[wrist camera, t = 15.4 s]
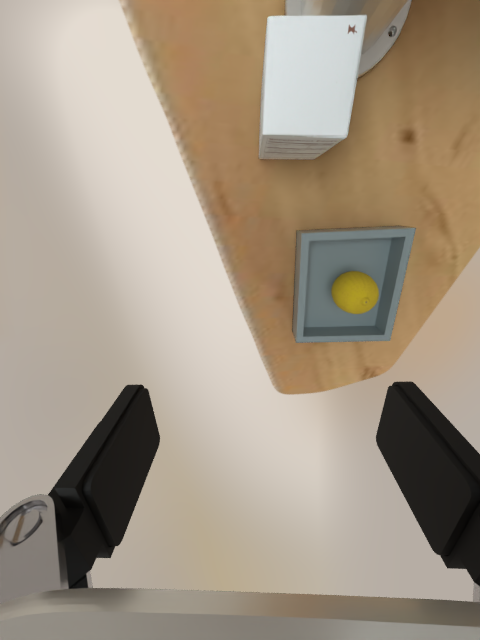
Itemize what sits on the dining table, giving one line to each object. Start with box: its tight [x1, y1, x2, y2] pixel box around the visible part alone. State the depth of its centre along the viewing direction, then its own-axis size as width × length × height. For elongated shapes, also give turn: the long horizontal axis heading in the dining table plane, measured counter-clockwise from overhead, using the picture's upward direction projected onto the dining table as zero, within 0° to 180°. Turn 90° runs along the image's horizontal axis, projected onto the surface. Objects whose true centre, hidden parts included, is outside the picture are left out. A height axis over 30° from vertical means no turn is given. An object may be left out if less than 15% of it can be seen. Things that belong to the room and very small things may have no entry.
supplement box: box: [259, 15, 367, 160], centre depth 25 cm, size 7×7×13 cm
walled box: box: [292, 226, 416, 343], centre depth 37 cm, size 16×14×4 cm
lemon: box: [331, 271, 379, 314], centre depth 34 cm, size 6×6×8 cm
